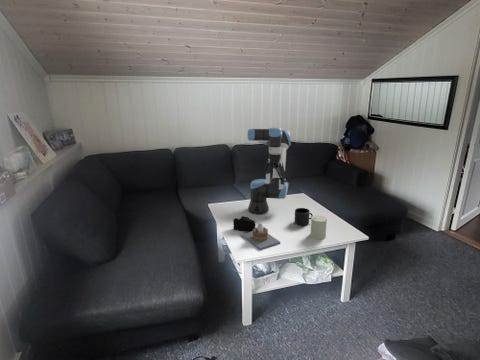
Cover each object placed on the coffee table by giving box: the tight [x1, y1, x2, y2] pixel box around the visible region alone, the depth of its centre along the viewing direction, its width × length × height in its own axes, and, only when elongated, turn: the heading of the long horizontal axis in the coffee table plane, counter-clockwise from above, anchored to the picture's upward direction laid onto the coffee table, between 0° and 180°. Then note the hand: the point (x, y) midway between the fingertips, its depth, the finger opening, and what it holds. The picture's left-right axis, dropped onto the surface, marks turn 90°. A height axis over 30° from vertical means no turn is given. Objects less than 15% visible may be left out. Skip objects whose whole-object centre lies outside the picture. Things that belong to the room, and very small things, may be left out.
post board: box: [241, 222, 281, 251], centre depth 174 cm, size 20×14×11 cm
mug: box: [294, 207, 314, 227], centre depth 194 cm, size 9×12×9 cm
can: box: [309, 214, 328, 240], centre depth 177 cm, size 9×9×12 cm
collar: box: [253, 226, 269, 241], centre depth 174 cm, size 8×8×5 cm
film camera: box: [232, 215, 257, 233], centre depth 189 cm, size 15×10×9 cm, turn 71°
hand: (274, 186), depth 187 cm, fingers open, 13 cm apart
